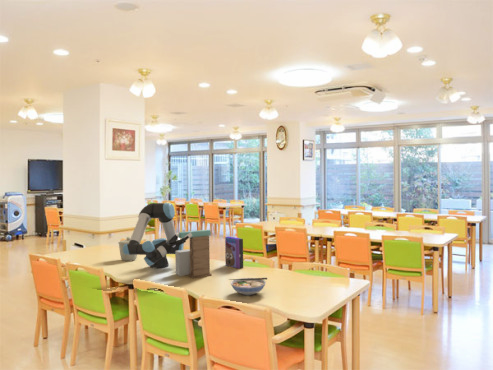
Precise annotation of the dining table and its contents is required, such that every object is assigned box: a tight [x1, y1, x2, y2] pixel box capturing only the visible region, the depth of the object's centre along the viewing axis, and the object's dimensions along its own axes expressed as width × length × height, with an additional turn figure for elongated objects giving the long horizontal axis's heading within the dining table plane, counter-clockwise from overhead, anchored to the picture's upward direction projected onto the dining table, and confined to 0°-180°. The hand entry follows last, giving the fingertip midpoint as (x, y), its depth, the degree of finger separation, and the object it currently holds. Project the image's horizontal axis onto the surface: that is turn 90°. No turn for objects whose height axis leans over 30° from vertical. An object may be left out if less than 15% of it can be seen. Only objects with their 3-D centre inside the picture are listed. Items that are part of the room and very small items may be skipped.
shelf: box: [174, 248, 190, 277], centre depth 314 cm, size 8×20×18 cm, turn 121°
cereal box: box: [224, 236, 244, 270], centre depth 335 cm, size 17×5×24 cm, turn 41°
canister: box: [117, 236, 138, 262], centre depth 368 cm, size 18×18×21 cm
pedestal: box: [187, 236, 212, 279], centre depth 306 cm, size 9×15×30 cm, turn 121°
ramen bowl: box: [228, 277, 268, 296], centre depth 257 cm, size 25×23×8 cm
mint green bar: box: [178, 229, 212, 239], centre depth 304 cm, size 4×24×4 cm, turn 121°
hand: (188, 232), depth 301 cm, fingers open, 13 cm apart
